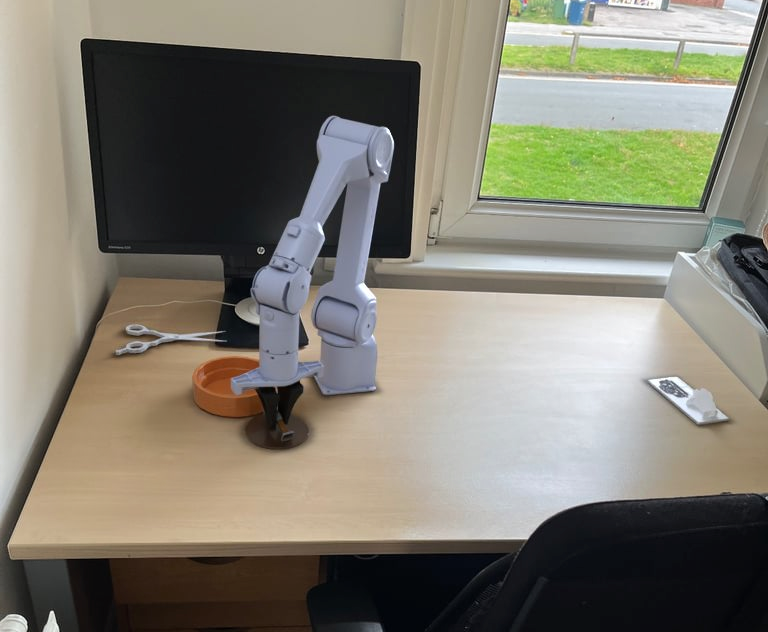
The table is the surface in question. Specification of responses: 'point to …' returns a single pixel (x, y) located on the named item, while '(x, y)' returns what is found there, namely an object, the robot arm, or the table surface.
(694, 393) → the white piece
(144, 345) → the scissors
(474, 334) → the table surface
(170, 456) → the table surface
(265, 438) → the coaster
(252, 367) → the bowl
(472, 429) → the table surface
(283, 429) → the wooden post with brackets
